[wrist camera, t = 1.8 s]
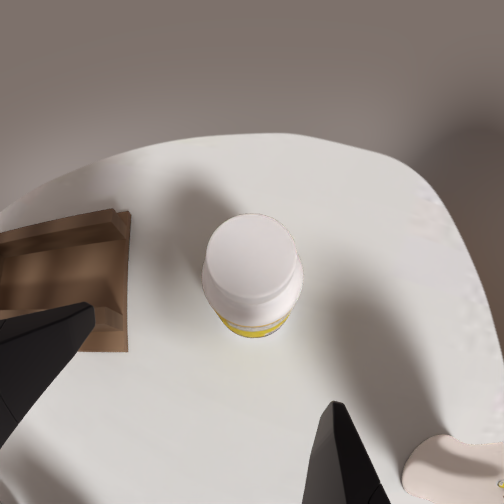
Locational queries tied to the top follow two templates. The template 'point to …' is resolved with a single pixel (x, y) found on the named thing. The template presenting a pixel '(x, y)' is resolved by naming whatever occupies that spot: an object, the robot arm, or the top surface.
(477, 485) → the beer glass
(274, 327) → the supplement bottle
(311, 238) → the top surface
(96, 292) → the walnut rail track
